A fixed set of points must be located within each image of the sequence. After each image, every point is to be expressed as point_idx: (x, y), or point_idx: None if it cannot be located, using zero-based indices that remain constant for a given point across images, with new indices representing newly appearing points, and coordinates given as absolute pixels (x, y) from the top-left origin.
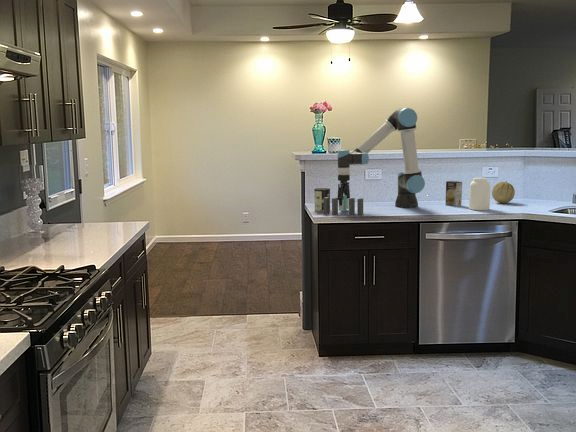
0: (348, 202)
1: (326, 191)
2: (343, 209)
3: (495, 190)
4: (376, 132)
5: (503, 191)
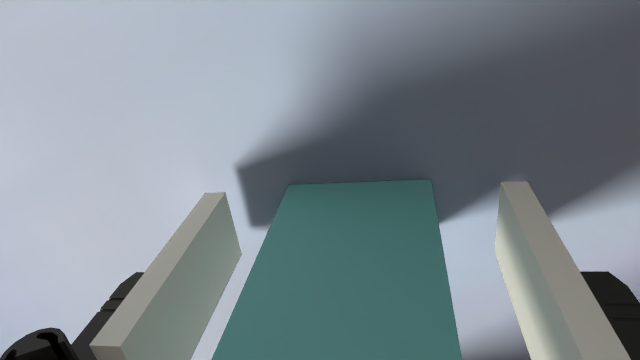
0: (159, 269)
1: None
2: (433, 208)
3: None
4: None
5: None
